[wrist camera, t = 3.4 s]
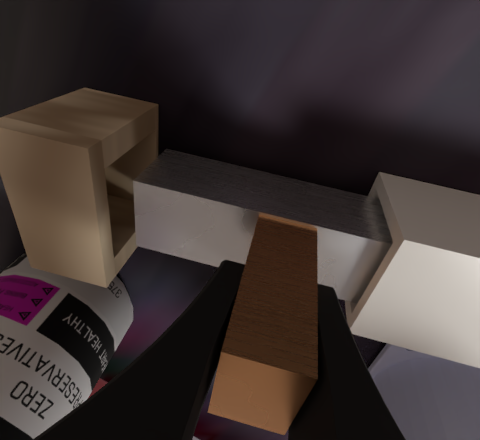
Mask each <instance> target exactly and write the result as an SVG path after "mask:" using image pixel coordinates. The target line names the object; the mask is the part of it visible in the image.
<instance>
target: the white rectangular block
mask: <svg viewBox="0 0 480 440" xmlns="http://www.w3.org/2000/svg"><path fill="white" fill-rule="evenodd" d="M368 197H373V198H377V199H380V202H381V206H382V209H383V212H384V215H385V218H386V221H387V224H388V227H389V230H390V233H391V237H392V240H393V244H392V245H391V247H390V249H389V250H388V252H387V254H386V256H385V257H384V259H383V261H382V262H381V264H380V266H379V268H378V269H377V271H376V273H375V274H374V276H373V278H372V280H371V281H370V283H369V285H368V286H367V288H366V290H365V292H364V293H363V295H362V297H361V298H360V300H359V302H358V304H357V303H353V302H349V301H345V308H346V318H347V323H348V325H349V328H350V330H351V333H352V334H354V335H358V336H362V337H365V338H369V339H373V340H377V341H380V342H384V343H388V344H391V345H395V346H399V347H403V348H406V349H410V350H414V351H417V352H421V353H425V354H429V355H432V356H436V357H440V358H443V359H447V360H451V361H455V362H458V363H462V364H466V365H469V366H473V367H477V368H480V195H478V194H473V193H469V192H465V191H460V190H456V189H452V188H447V187H443V186H439V185H434V184H430V183H426V182H421V181H417V180H413V179H408V178H404V177H400V176H395V175H391V174H387V173H382V172H379V173H378V175H377V177H376V179H375V181H374V183H373V186H372V188H371V190H370V192H369V194H368Z"/></svg>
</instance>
